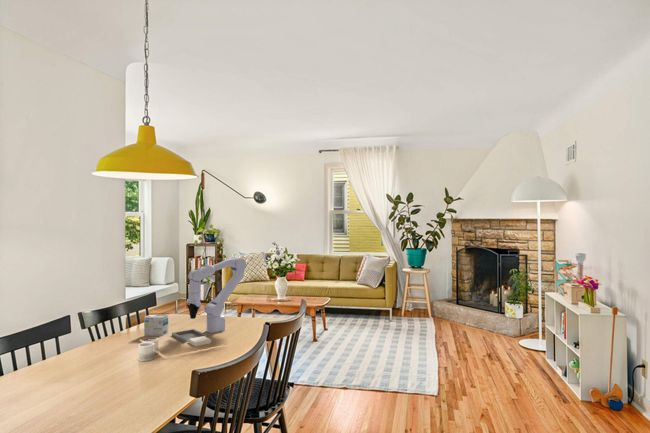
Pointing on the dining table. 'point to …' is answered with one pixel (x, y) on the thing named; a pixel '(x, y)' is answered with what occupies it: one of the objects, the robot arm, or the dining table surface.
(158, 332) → the light bulb box
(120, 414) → the dining table surface
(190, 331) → the open box
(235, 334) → the dining table surface
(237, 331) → the dining table surface
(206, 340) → the cover plate
